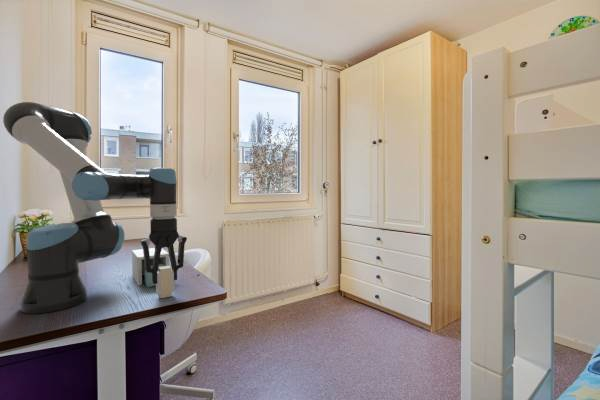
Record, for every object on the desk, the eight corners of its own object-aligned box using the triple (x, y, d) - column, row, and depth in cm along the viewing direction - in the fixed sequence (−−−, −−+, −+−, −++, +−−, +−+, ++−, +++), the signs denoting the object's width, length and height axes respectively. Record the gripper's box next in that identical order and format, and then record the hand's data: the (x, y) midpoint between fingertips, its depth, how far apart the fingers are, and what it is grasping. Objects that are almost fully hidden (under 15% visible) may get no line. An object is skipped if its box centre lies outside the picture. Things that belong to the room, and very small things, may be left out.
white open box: (138, 285, 104) (137, 257, 103) (132, 275, 116) (131, 250, 116) (169, 280, 110) (169, 253, 109) (161, 271, 122) (160, 247, 122)
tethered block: (155, 299, 90) (155, 270, 89) (144, 282, 106) (144, 257, 106) (176, 295, 93) (176, 267, 93) (162, 279, 109) (162, 255, 109)
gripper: (136, 220, 84) (137, 301, 85) (194, 217, 94) (195, 289, 95) (132, 218, 90) (133, 294, 91) (187, 215, 100) (188, 283, 101)
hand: (165, 291), depth 93 cm, fingers closed on tethered block, 3 cm apart
